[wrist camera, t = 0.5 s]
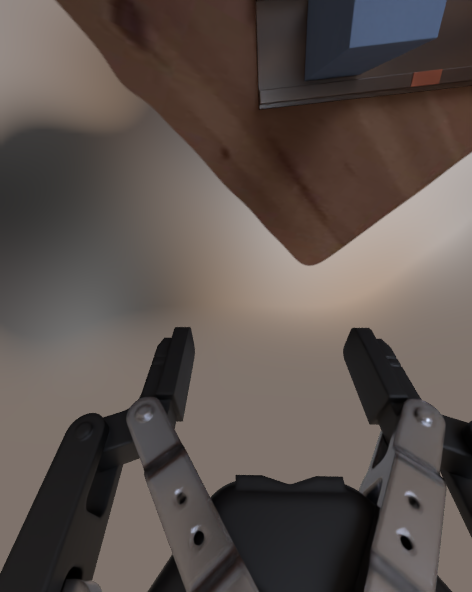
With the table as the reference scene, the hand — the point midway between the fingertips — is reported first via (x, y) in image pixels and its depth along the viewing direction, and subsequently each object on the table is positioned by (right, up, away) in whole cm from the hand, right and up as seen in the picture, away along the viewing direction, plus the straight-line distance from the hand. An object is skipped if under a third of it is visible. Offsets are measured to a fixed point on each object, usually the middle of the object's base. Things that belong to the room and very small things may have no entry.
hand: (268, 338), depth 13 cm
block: (+9, +28, +13) cm, 32 cm away
